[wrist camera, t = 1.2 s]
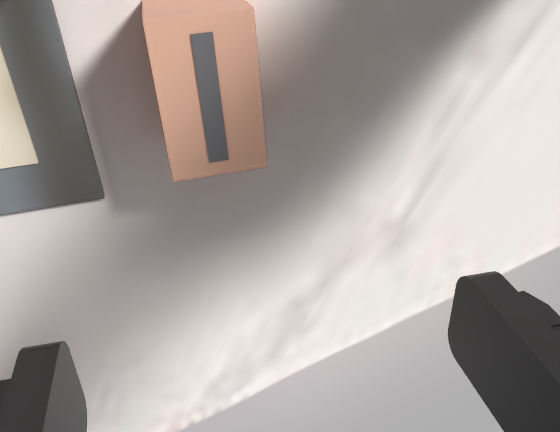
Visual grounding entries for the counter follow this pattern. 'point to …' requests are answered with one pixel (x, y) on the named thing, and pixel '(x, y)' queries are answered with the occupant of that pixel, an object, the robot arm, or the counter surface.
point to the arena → (40, 115)
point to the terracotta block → (206, 85)
